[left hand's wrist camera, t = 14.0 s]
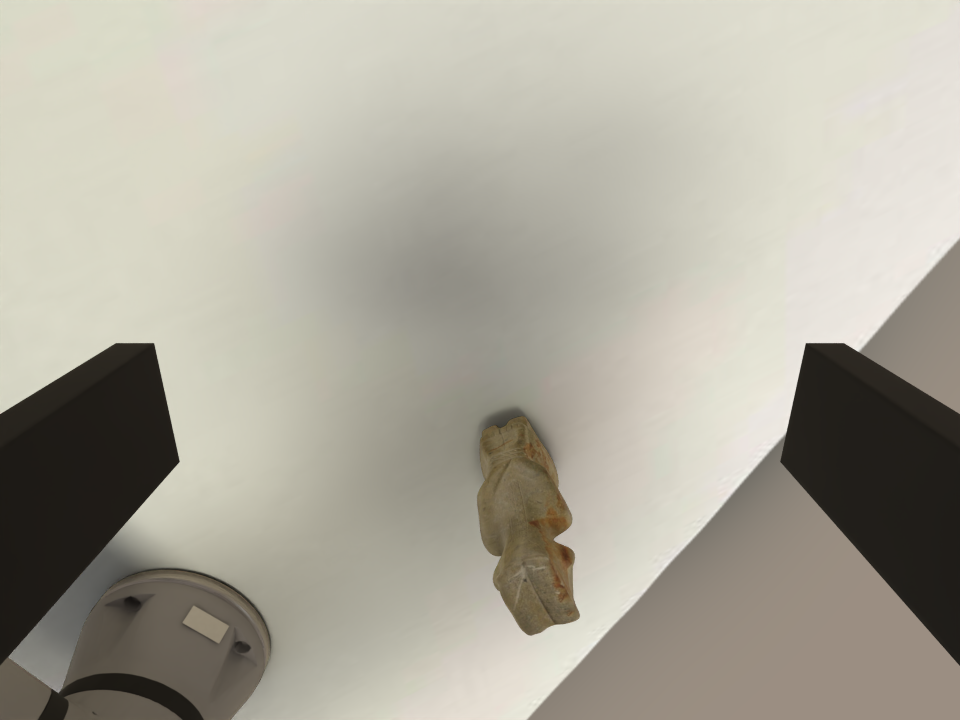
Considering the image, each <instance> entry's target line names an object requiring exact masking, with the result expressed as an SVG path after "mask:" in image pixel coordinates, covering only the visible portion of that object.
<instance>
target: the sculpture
mask: <svg viewBox="0 0 960 720" xmlns="http://www.w3.org/2000/svg"><path fill="white" fill-rule="evenodd" d="M480 462H481V468H482V472H483V476H484V479H485V481H484V483H483V485H482V486H481V488H480V490H479V492H478V495H477V505H478V512H479V521H480V531H481V537H482V541H483V544H484V546H485V547H486V549H487V550H488V551H489V552H490V553H491V554H492V555H494V556H501V558H500V560H499V563H498V565H497V567H496V569H495V571H494V574H493V583H494V586H495V587H496V589H497V590H498V591H500V594H501V596H502V598H503V600H504V602H505V604H506V606H507V607H508V609H509V610H510V612H511V613H512V615H513V617H514V619H515V620H516V622H517V624H518V625H519V627H520V628H521V629H522V631H524V632H525V633H526V634H528V635H534V634H538V633H541V632H542V631H544V630H545V629H546V628H548V627H550V626H553V625H558V624H566V623H570V622H574V621H576V620H577V619H579V617H580V614H579V611H578V609H577V607H576V604H575V601H574V598H573V571H572V570H573V564H574V560H575V554H574V552H573V551H572V550H571V549H570V548H568V547H566V546H564V545H561V544H559V543H556V542H555V541H554V540H553V539H554V538H555V537H556V536H558V535H559V534H561V533H562V532H564V531H565V530H567V529H568V528H569V527H570V525H571V524H572V515H571V512H570V510H569V508H568V506H567V504H566V502H565V500H564V499H563V497H562V495H561V493H560V492H559V490H558V484H559V482H558V474H557V471H556V468H555V465H554V463H553V461H552V459H551V457H550V455H549V454H548V452H547V450H546V449H545V447H544V446H543V445H542V443H541V442H540V440H539V439H538V437H537V435H536V434H535V432H534V430H533V428H532V427H531V425H530V423H529V422H528V420H527V419H526V418H525V417H524V416H521V417H517V418H513V419H511V420H509V421H508V423H507V424H506V425H505V426H504V427H502V428H499V427H498V426H496V425H494V426H491V427H489V428H487V429H485V430H483V432H482V438H481V439H480Z"/></svg>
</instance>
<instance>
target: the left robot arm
mask: <svg viewBox="0 0 960 720" xmlns="http://www.w3.org/2000/svg"><path fill="white" fill-rule="evenodd" d="M179 462H180V461H179V456H178V452H177V447H176V443H175V438H174V433H173V429H172V424H171V419H170V415H169V410H168V406H167V401H166V396H165V392H164V387H163V382H162V378H161V373H160V369H159V364H158V359H157V355H156V350H155V345H154V343H116V344H114V345H112V346H111V347H109V348H108V349H106V350H104V351H103V352H101V353H99V354H98V355H96V356H94V357H93V358H91V359H90V360H88V361H86V362H85V363H83V364H81V365H80V366H78V367H76V368H75V369H73V370H72V371H70V372H68V373H67V374H65V375H63V376H62V377H60V378H59V379H57V380H55V381H54V382H52V383H50V384H49V385H47V386H45V387H44V388H42V389H41V390H39V391H37V392H36V393H34V394H32V395H31V396H29V397H28V398H26V399H24V400H23V401H21V402H19V403H18V404H16V405H14V406H13V407H11V408H10V409H8V410H6V411H5V412H3V413H1V414H0V720H231V719H232V717H233V716H234V715H235V714H236V713H237V711H238V710H239V709H240V708H241V707H242V705H243V704H244V703H245V702H246V701H247V700H248V698H249V697H250V696H251V695H252V693H253V692H254V690H255V688H256V687H257V685H258V683H259V682H260V680H261V678H262V675H263V673H264V670H265V667H266V665H267V662H268V659H269V654H270V640H269V635H268V632H267V629H266V626H265V624H264V622H263V620H262V619H261V617H260V615H259V614H258V613H257V611H256V610H255V609H254V608H253V606H252V605H251V604H250V603H249V602H248V601H247V600H246V599H245V598H243V597H242V596H241V595H240V594H238V593H237V592H236V591H234V590H233V589H231V588H230V587H228V586H226V585H224V584H222V583H220V582H218V581H216V580H214V579H211V578H208V577H206V576H203V575H199V574H196V573H191V572H186V571H179V570H153V571H146V572H141V573H138V574H134V575H132V576H129V577H127V578H125V579H123V580H121V581H119V582H117V583H116V584H114V585H113V586H112V587H111V588H109V589H108V590H107V592H106V593H105V594H104V595H103V596H102V597H101V599H100V600H99V601H98V602H97V604H96V605H95V606H94V608H93V609H92V610H91V612H90V614H89V616H88V618H87V619H86V621H85V623H84V625H83V628H82V631H81V634H80V637H79V640H78V643H77V646H76V649H75V652H74V655H73V658H72V661H71V664H70V667H69V670H68V673H67V676H66V679H65V682H64V685H63V687H62V689H61V691H60V692H59V693H57V692H55V691H54V690H52V689H51V688H50V687H48V686H47V685H46V684H44V683H43V682H41V681H40V680H39V679H37V678H36V677H34V676H33V675H32V674H30V673H29V672H27V671H26V670H25V669H23V668H22V667H20V666H19V665H18V664H16V663H15V662H13V661H12V660H11V659H9V658H8V656H9V655H10V654H11V653H12V652H13V651H14V649H15V648H16V647H17V646H18V645H19V644H20V643H21V641H22V640H23V639H24V638H25V637H26V636H27V635H28V634H29V632H30V631H31V630H32V629H33V628H34V627H35V626H36V624H37V623H38V622H39V621H40V620H41V619H42V618H43V616H44V615H45V614H46V613H47V612H48V611H49V610H50V609H51V607H52V606H53V605H54V604H55V603H56V602H57V601H58V599H59V598H60V597H61V596H62V595H63V594H64V593H65V591H66V590H67V589H68V588H69V587H70V586H71V585H72V584H73V582H74V581H75V580H76V579H77V578H78V577H79V576H80V574H81V573H82V572H83V571H84V570H85V569H86V568H87V566H88V565H89V564H90V563H91V562H92V561H93V560H94V559H95V557H96V556H97V555H98V554H99V553H100V552H101V551H102V549H103V548H104V547H105V546H106V545H107V544H108V543H109V541H110V540H111V539H112V538H113V537H114V536H115V535H116V534H117V532H118V531H119V530H120V529H121V528H122V527H123V526H124V524H125V523H126V522H127V521H128V520H129V519H130V518H131V516H132V515H133V514H134V513H135V512H136V511H137V510H138V508H139V507H140V506H141V505H142V504H143V503H144V502H145V501H146V499H147V498H148V497H149V496H150V495H151V494H152V493H153V491H154V490H155V489H156V488H157V487H158V486H159V485H160V483H161V482H162V481H163V480H164V479H165V478H166V477H167V476H168V474H169V473H170V472H171V471H172V470H173V469H174V468H175V466H176V465H177V464H178V463H179ZM780 462H781V463H782V464H783V465H784V466H785V468H786V469H787V470H788V471H789V472H790V473H791V474H792V476H793V477H794V478H795V479H796V480H797V481H798V482H799V483H800V485H801V486H802V487H803V488H804V489H805V490H806V491H807V493H808V494H809V495H810V496H811V497H812V498H813V499H814V501H815V502H816V503H817V504H818V505H819V506H820V507H821V508H822V510H823V511H824V512H825V513H826V514H827V515H828V516H829V518H830V519H831V520H832V521H833V522H834V523H835V524H836V526H837V527H838V528H839V529H840V530H841V531H842V532H843V534H844V535H845V536H846V537H847V538H848V539H849V540H850V541H851V543H852V544H853V545H854V546H855V547H856V548H857V549H858V551H859V552H860V553H861V554H862V555H863V556H864V557H865V558H866V560H867V561H868V562H869V563H870V564H871V565H872V566H873V568H874V569H875V570H876V571H877V572H878V573H879V574H880V576H881V577H882V578H883V579H884V580H885V581H886V582H887V583H888V585H889V586H890V587H891V588H892V589H893V590H894V591H895V593H896V594H897V595H898V596H899V597H900V598H901V599H902V601H903V602H904V603H905V604H906V605H907V606H908V607H909V608H910V610H911V611H912V612H913V613H914V614H915V615H916V616H917V618H918V619H919V620H920V621H921V622H922V623H923V624H924V626H925V627H926V628H927V629H928V630H929V631H930V632H931V634H932V635H933V636H934V637H935V638H936V639H937V640H938V641H939V643H940V644H941V645H942V646H943V647H944V648H945V649H946V651H947V652H948V653H949V654H950V655H951V656H952V657H953V658H954V660H955V661H956V662H957V663H958V664H959V665H960V414H959V413H957V412H955V411H954V410H952V409H950V408H949V407H947V406H946V405H944V404H942V403H941V402H939V401H937V400H936V399H934V398H932V397H931V396H929V395H928V394H926V393H924V392H923V391H921V390H919V389H918V388H916V387H915V386H913V385H911V384H910V383H908V382H906V381H905V380H903V379H901V378H900V377H898V376H896V375H895V374H893V373H892V372H890V371H888V370H887V369H885V368H883V367H882V366H880V365H879V364H877V363H875V362H874V361H872V360H870V359H869V358H867V357H866V356H864V355H862V354H861V353H859V352H857V351H856V350H854V349H852V348H851V347H849V346H848V345H846V344H844V343H806V345H805V350H804V355H803V359H802V364H801V369H800V373H799V378H798V382H797V387H796V392H795V396H794V401H793V406H792V410H791V415H790V419H789V424H788V429H787V433H786V438H785V443H784V447H783V452H782V456H781V461H780Z"/></svg>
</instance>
